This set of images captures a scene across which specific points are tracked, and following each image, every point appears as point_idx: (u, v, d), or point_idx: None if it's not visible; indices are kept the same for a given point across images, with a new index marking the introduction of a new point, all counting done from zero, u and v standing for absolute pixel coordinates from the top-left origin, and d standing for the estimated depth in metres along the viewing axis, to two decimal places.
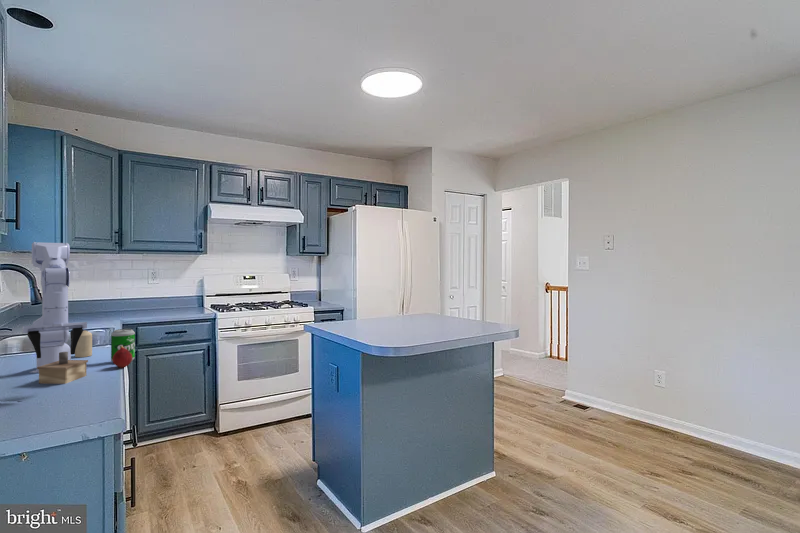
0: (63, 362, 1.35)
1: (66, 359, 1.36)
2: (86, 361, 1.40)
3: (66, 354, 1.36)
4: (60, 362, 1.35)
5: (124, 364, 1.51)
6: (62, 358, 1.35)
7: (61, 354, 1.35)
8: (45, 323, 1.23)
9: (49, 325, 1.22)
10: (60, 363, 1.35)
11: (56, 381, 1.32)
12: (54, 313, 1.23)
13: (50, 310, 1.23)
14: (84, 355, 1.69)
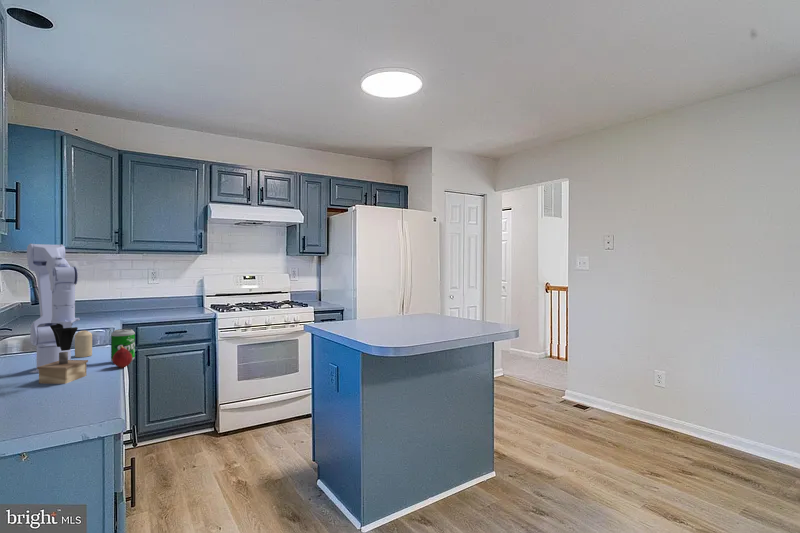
0: (63, 362, 1.35)
1: (66, 359, 1.36)
2: (86, 361, 1.40)
3: (66, 354, 1.36)
4: (60, 362, 1.35)
5: (124, 364, 1.51)
6: (62, 358, 1.35)
7: (61, 354, 1.35)
8: (70, 318, 1.35)
9: (74, 320, 1.37)
10: (60, 363, 1.35)
11: (56, 381, 1.32)
12: (74, 309, 1.37)
13: (73, 306, 1.37)
14: (84, 355, 1.69)
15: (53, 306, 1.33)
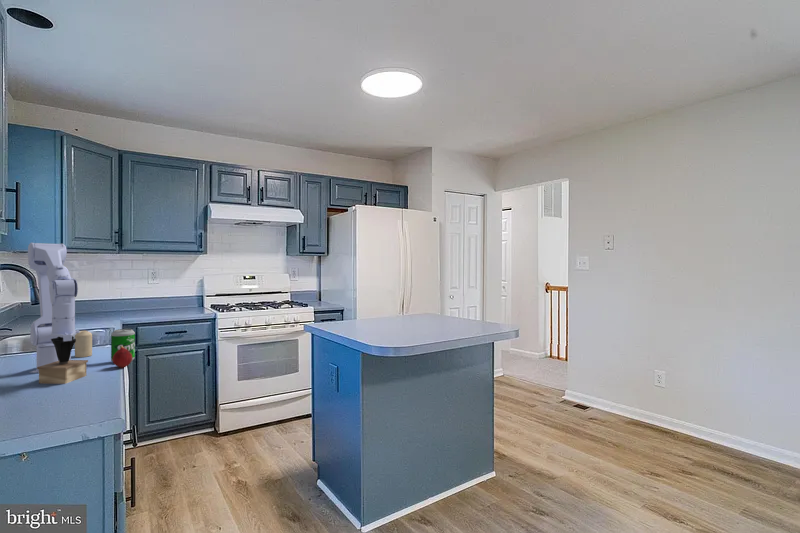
0: (63, 362, 1.35)
1: None
2: (86, 361, 1.40)
3: None
4: (60, 362, 1.35)
5: (124, 364, 1.51)
6: None
7: None
8: (70, 331, 1.35)
9: (74, 332, 1.37)
10: (60, 363, 1.35)
11: (56, 381, 1.32)
12: (74, 321, 1.38)
13: (73, 319, 1.37)
14: (84, 355, 1.69)
15: (53, 319, 1.33)
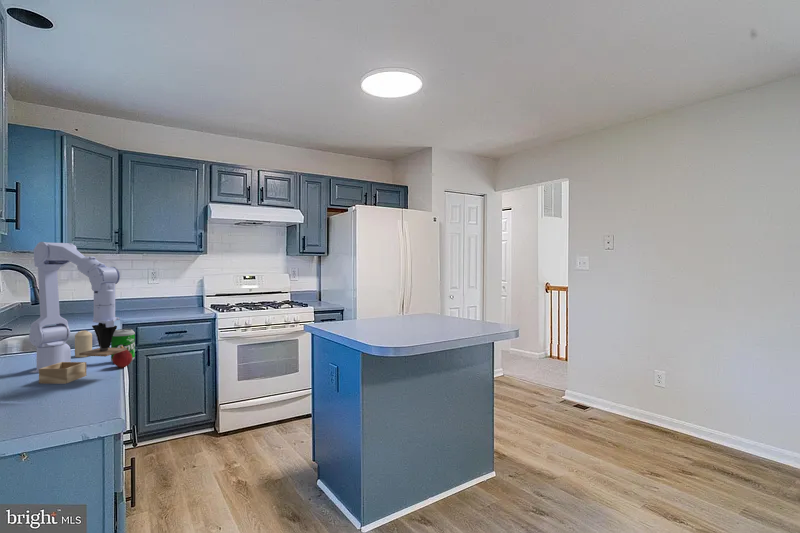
0: (104, 349, 1.37)
1: None
2: (125, 349, 1.42)
3: None
4: (101, 349, 1.37)
5: (124, 364, 1.51)
6: None
7: None
8: (111, 317, 1.37)
9: (115, 319, 1.39)
10: (101, 350, 1.37)
11: (56, 381, 1.32)
12: None
13: (114, 306, 1.39)
14: (84, 355, 1.69)
15: (95, 306, 1.35)
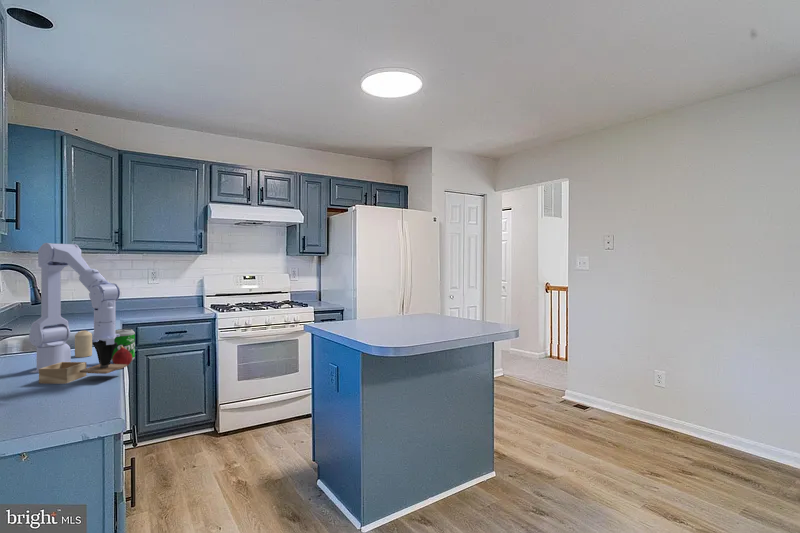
0: (104, 366, 1.37)
1: None
2: (125, 365, 1.42)
3: None
4: (101, 366, 1.37)
5: None
6: None
7: None
8: (111, 334, 1.37)
9: (115, 336, 1.39)
10: (101, 367, 1.37)
11: (56, 381, 1.32)
12: None
13: (114, 323, 1.39)
14: (84, 355, 1.69)
15: (96, 323, 1.35)
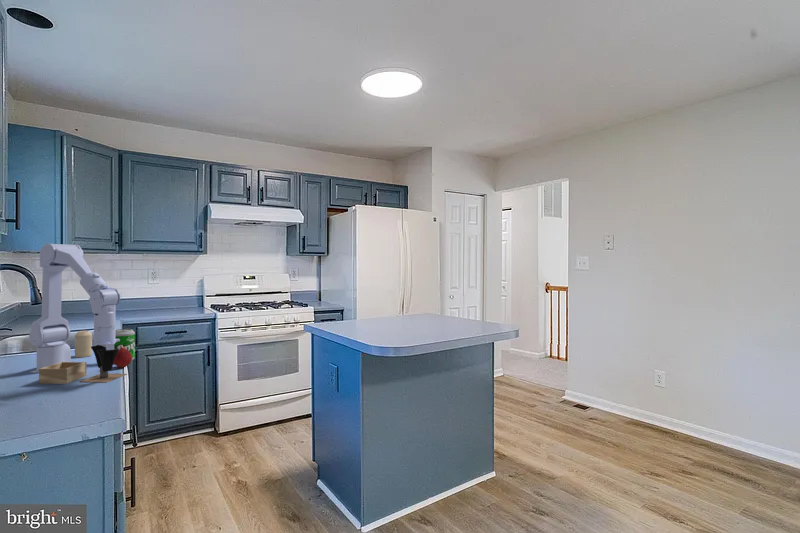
0: (104, 376, 1.37)
1: (106, 373, 1.38)
2: None
3: None
4: (101, 376, 1.37)
5: (124, 364, 1.51)
6: (103, 372, 1.37)
7: None
8: (111, 340, 1.37)
9: (115, 341, 1.39)
10: (101, 377, 1.37)
11: (56, 381, 1.32)
12: None
13: (114, 328, 1.39)
14: (84, 355, 1.69)
15: (96, 328, 1.35)
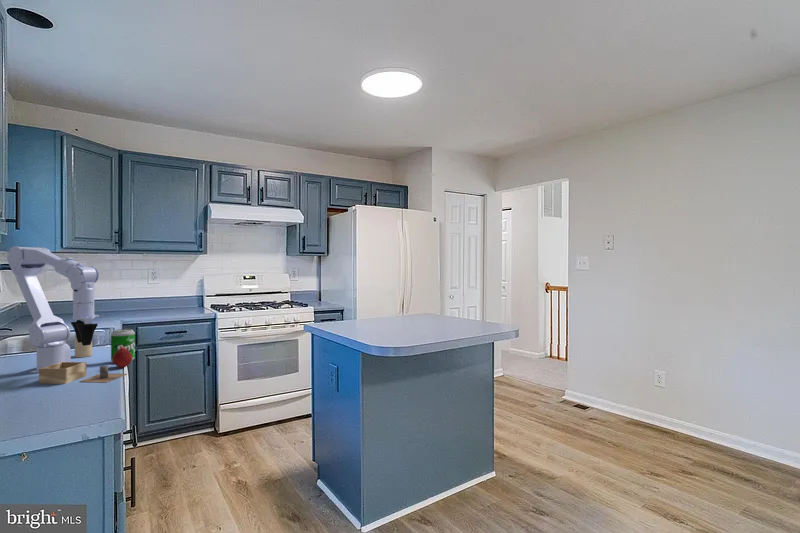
0: (104, 376, 1.37)
1: (106, 373, 1.38)
2: None
3: (106, 368, 1.38)
4: (101, 376, 1.37)
5: (124, 364, 1.51)
6: (103, 372, 1.37)
7: (102, 368, 1.37)
8: (90, 315, 1.43)
9: (94, 316, 1.45)
10: (101, 377, 1.37)
11: (56, 381, 1.32)
12: None
13: (93, 304, 1.45)
14: (84, 355, 1.69)
15: (75, 304, 1.41)
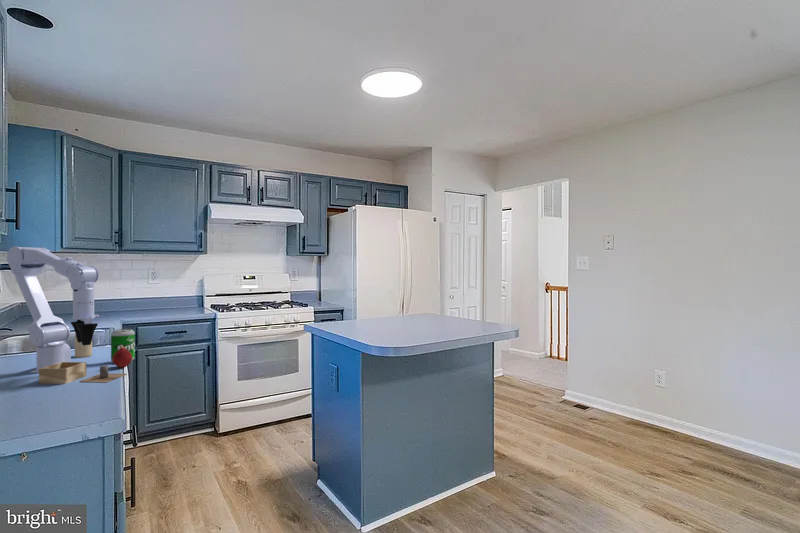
0: (104, 376, 1.37)
1: (106, 373, 1.38)
2: None
3: (106, 368, 1.38)
4: (101, 376, 1.37)
5: (124, 364, 1.51)
6: (103, 372, 1.37)
7: (102, 368, 1.37)
8: (90, 315, 1.43)
9: (94, 316, 1.45)
10: (101, 377, 1.37)
11: (56, 381, 1.32)
12: None
13: (93, 303, 1.45)
14: (84, 355, 1.69)
15: (74, 304, 1.41)
